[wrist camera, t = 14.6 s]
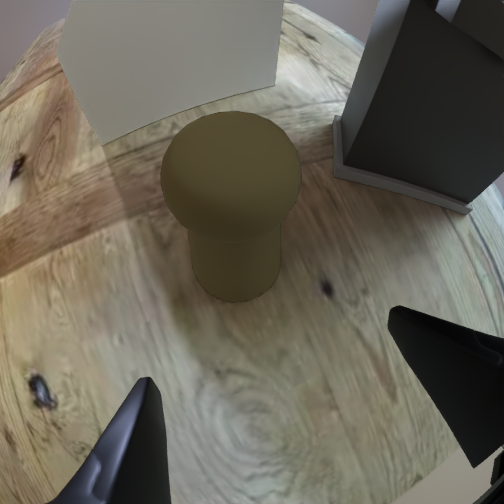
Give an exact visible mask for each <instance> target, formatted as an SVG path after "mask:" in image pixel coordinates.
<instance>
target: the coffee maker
mask: <svg viewBox="0 0 504 504" xmlns="http://www.w3.org/2000/svg"><path fill="white" fill-rule="evenodd" d="M503 172H504V0H379V3H378V6H377V10H376V13H375V17H374V20H373V23H372V26H371V30H370V33H369V36H368V39H367V43H366V46H365V49H364V52H363V55H362V58H361V61H360V64H359V67H358V70H357V73H356V76H355V79H354V82H353V85H352V88H351V91H350V94H349V97H348V100H347V102H346V105H345V108H344V111H343V114H342V116H338V115H335V117H334V120H333V176H334V177H336V178H341V179H345V180H349V181H354V182H358V183H362V184H366V185H370V186H374V187H378V188H381V189H385V190H389V191H392V192H396V193H400V194H403V195H406V196H410V197H413V198H416V199H420V200H423V201H426V202H429V203H432V204H435V205H438V206H441V207H444V208H447V209H450V210H453V211H456V212H459V213H461V214H464V215H467V214H468V213H469V212H471V211H472V210H473V209H472V205H471V202H472V201H473V200H474V199H475V198H476V197H477V196H479V195H480V194H481V193H482V192H483V191H484V190H485V189H486V188H487V187H488V186H489V185H491V184H492V183H493V182H494V181H495V180H496V179H497V178H498V177H499V176H500V175H501V174H502V173H503Z"/></svg>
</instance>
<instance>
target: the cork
mask: <svg viewBox="0 0 504 504" xmlns="http://www.w3.org/2000/svg"><path fill="white" fill-rule="evenodd" d="M301 177H302V175H301V166H300V161H299V157H298V152H297V150H296V148H295V147H294V145H293V144H292V142H291V141H290V139H289V138H288V136H287V135H286V134H285V132H284V131H283V130H282V129H281V128H280V127H278V126H277V125H276V124H274V123H273V122H272V121H270V120H268V119H266V118H263V117H261V116H258V115H256V114H252V113H246V112H240V111H230V112H218V113H214V114H210V115H207V116H203V117H201V118H199V119H197V120H195V121H193V122H191V123H190V124H188V125H186V126H185V127H184V128H183V129H182V130H181V131H180V132H179V133H178V134H177V135H176V136H175V137H174V139H173V140H172V142H171V144H170V146H169V147H168V149H167V151H166V153H165V155H164V157H163V161H162V168H161V187H162V191H163V194H164V198H165V201H166V203H167V205H168V207H169V209H170V211H171V212H172V213H173V215H174V216H175V217H176V218H177V220H178V221H179V222H180V224H181V225H183V226H184V227H185V228H187V229H188V237H189V245H190V252H191V259H192V266H193V270H194V273H195V275H196V278H197V281H198V282H199V283H200V284H201V286H202V287H203V288H204V289H205V291H207V292H208V293H210V294H211V295H213V296H214V297H216V298H217V299H221V300H225V301H228V302H246V301H249V300H252V299H254V298H257V297H259V296H261V295H262V294H263V293H264V292H266V291H267V290H268V289H269V288H271V286H272V285H273V283H274V281H275V280H276V278H277V277H278V274H279V270H280V265H281V222H282V221H283V220H284V219H285V218H286V216H287V215H288V213H289V211H290V210H291V208H292V207H293V205H294V204H295V202H296V199H297V196H298V193H299V188H300V182H301Z"/></svg>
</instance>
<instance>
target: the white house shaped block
mask: <svg viewBox="0 0 504 504" xmlns="http://www.w3.org/2000/svg"><path fill="white" fill-rule="evenodd" d="M283 4H284V0H73V1H72V3H71V6H70V9H69V12H68V14H67V17H66V20H65V23H64V26H63V30H62V33H61V37H60V40H59V44H58V48H57V52H56V56H57V58H58V61H59V63H60V65H61V67H62V69H63V72H64V74H65V76H66V78H67V80H68V82H69V84H70V86H71V89H72V91H73V93H74V95H75V97H76V99H77V101H78V103H79V105H80V107H81V109H82V110H83V112H84V114H85V116H86V118H87V120H88V122H89V124H90V126H91V128H92V129H93V131H94V133H95V135H96V137H97V139H98V140H99V142H100V144H101V146H103V145H105V144H107V143H109V142H111V141H113V140H115V139H117V138H119V137H121V136H123V135H125V134H128V133H130V132H132V131H134V130H137V129H139V128H141V127H143V126H146V125H148V124H151V123H153V122H156V121H158V120H161V119H163V118H166V117H168V116H171V115H174V114H176V113H179V112H182V111H185V110H188V109H191V108H193V107H196V106H200V105H203V104H206V103H209V102H212V101H216V100H219V99H222V98H226V97H229V96H233V95H237V94H241V93H245V92H249V91H253V90H257V89H261V88H266V87H271V86H275V80H276V71H277V62H278V52H279V43H280V33H281V23H282V14H283Z"/></svg>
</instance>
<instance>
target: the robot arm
mask: <svg viewBox="0 0 504 504" xmlns="http://www.w3.org/2000/svg"><path fill="white" fill-rule="evenodd" d="M388 330H389V332H390V334H391V335H392V337H393V339H394V341H395V342H396V344H397V346H398V348H399V350H400V352H401V353H402V355H403V357H404V359H405V360H406V362H407V363H408V365H409V366H410V368H411V369H412V370H413V372H414V373H415V375H416V376H417V378H418V379H419V381H420V382H421V384H422V385H423V387H424V388H425V390H426V391H427V393H428V394H429V396H430V397H431V399H432V400H433V402H434V403H435V405H436V407H437V408H438V410H439V411H440V413H441V414H442V416H443V418H444V419H445V421H446V422H447V424H448V426H449V427H450V429H451V431H452V432H453V434H454V436H455V438H456V439H457V441H458V443H459V444H460V446H461V448H462V450H463V451H464V453H465V455H466V456H467V458H468V460H469V462H470V463H471V466H472V467H473V468H475V467H477V466H478V465H479V464H481V463H482V462H483V461H484V460H485V459H487V458H488V457H489V456H490V455H491V454H493V453H494V452H495V451H496V450H497V449H498V448H499V447H500V446H502V447H503V449H504V338H500V337H496V336H492V335H488V334H485V333H482V332H479V331H476V330H475V331H474V330H473V329H470V328H467V327H464V326H461V325H458V324H455V323H452V322H449V321H446V320H443V319H440V318H437V317H434V316H431V315H428V314H425V313H422V312H419V311H416V310H413V309H410V308H407V307H404V306H400V305H399V306H396V307H394V308H391V310H390V312H389V318H388ZM490 483H491V485H492V486H491V487H490V489H488V491H486V492H485V493H484V494H483V495H482V496H481V497H480V498H479V499H478V500H476V501H475V502H474V503H473V504H504V450H503V451H502V452H501V453H500V454H499V455H498V456H497V457H496V458H495V460H494V467H493V472H492V477H491V482H490ZM45 504H171V496H170V485H169V473H168V458H167V437H166V427H165V420H164V413H163V406H162V398H161V393H160V391H159V389H158V387H157V386H156V384H155V383H154V381H153V380H152V378H151V377H143V378H139V379H138V381H137V382H136V384H135V385H134V387H133V388H132V390H131V391H130V393H129V394H128V396H127V397H126V399H125V400H124V402H123V403H122V405H121V406H120V408H119V409H118V411H117V412H116V414H115V415H114V417H113V418H112V420H111V421H110V423H109V424H108V426H107V427H106V429H105V430H104V432H103V434H102V435H101V437H100V438H99V440H98V441H97V443H96V444H95V446H94V449H92V450H91V452H90V454H89V455H88V457H87V458H86V460H85V461H84V463H83V464H82V466H81V467H80V468H79V470H78V471H77V472H76V473H75V475H74V476H73V477H72V479H71V480H70V481H69V482H68V484H67V485H66V486H65V487H64V488H63V490H62V491H61V492H60V493H59V495H58V496H57V497H56V498H54V499H53V500H52V501H50V502H48V503H45Z"/></svg>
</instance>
